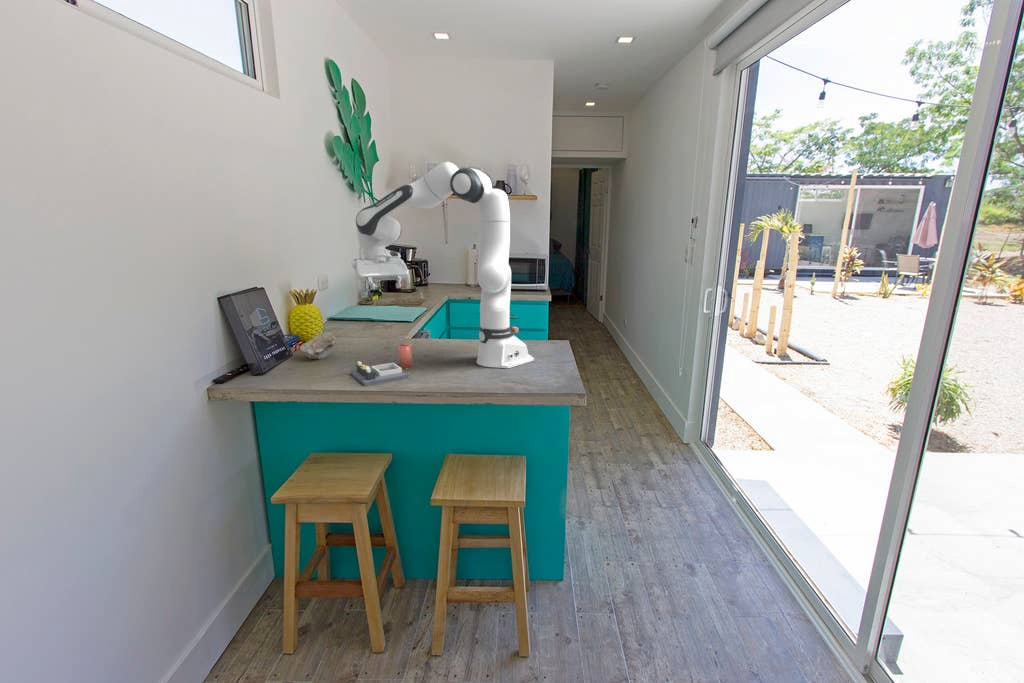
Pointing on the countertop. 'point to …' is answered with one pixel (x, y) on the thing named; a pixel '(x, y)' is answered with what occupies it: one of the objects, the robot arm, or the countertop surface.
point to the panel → (377, 373)
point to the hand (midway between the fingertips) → (387, 288)
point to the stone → (319, 345)
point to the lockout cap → (405, 355)
